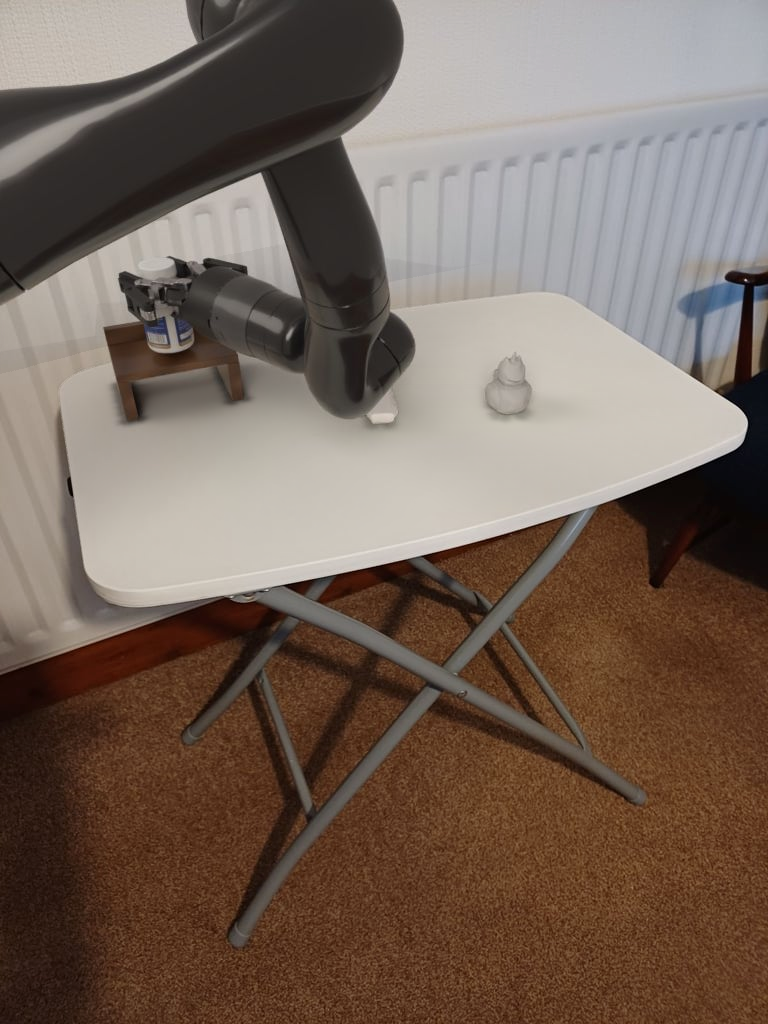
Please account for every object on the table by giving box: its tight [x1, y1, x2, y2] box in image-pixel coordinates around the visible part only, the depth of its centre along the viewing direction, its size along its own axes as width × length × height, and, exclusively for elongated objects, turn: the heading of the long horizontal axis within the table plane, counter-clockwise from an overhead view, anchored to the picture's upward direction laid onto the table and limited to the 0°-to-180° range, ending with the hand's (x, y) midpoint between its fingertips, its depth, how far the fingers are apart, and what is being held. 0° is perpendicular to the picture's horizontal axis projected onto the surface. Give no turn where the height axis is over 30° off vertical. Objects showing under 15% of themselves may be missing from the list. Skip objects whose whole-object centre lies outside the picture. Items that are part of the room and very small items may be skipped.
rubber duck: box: [484, 350, 533, 415], centre depth 91 cm, size 5×7×8 cm
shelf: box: [102, 320, 245, 422], centre depth 94 cm, size 14×9×8 cm, turn 112°
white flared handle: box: [365, 386, 399, 425], centre depth 94 cm, size 6×18×4 cm, turn 5°
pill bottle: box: [137, 256, 194, 353], centre depth 89 cm, size 5×5×10 cm
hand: (145, 273), depth 89 cm, fingers closed on pill bottle, 5 cm apart
